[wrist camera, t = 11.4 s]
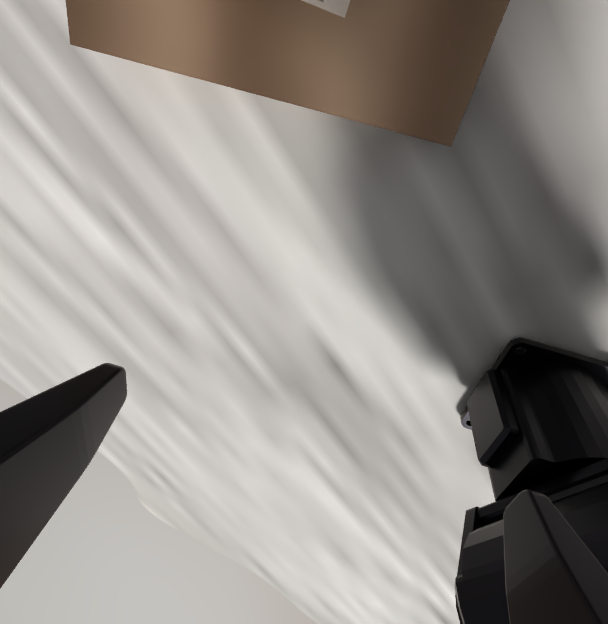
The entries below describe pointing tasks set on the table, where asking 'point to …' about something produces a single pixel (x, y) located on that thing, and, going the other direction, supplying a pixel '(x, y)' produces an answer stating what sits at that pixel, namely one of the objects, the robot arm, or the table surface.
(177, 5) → the walnut stand
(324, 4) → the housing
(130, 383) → the table surface
